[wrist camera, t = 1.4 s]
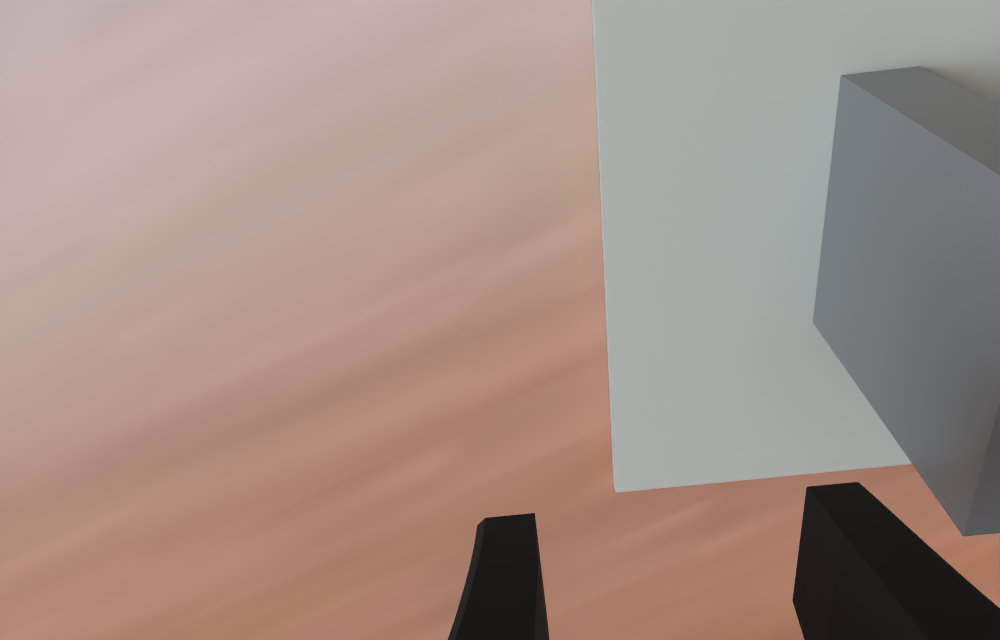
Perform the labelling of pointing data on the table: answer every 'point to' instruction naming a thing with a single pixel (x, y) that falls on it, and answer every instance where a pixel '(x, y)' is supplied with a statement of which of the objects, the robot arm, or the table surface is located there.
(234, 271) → the table surface
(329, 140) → the table surface
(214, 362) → the table surface
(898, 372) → the glazed tile
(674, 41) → the felt mat
